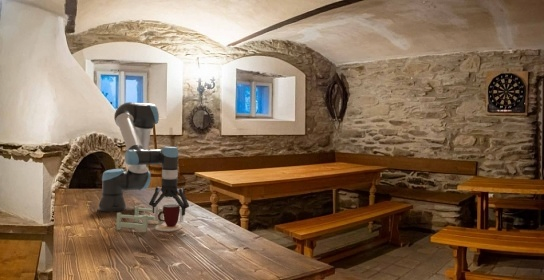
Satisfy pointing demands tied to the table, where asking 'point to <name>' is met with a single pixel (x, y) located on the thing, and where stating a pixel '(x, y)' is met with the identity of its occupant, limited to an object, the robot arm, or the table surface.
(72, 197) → the table surface
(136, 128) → the robot arm
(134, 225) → the cradle
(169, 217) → the mug
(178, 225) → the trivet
